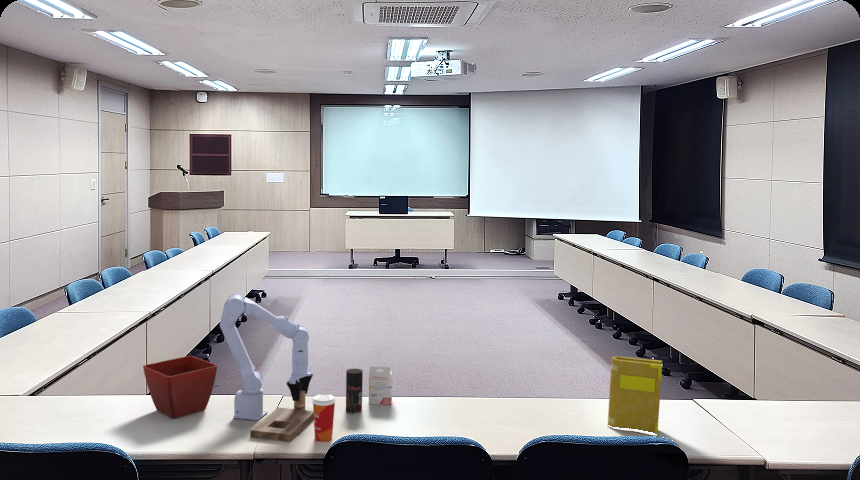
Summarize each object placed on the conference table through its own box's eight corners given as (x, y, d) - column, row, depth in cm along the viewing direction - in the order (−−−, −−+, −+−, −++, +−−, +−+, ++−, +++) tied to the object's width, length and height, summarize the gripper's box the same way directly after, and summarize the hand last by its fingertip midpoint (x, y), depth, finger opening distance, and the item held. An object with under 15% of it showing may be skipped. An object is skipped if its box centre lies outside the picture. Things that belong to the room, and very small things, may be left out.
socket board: (250, 437, 221) (250, 430, 221) (278, 414, 243) (278, 407, 242) (290, 441, 218) (290, 434, 218) (314, 418, 240) (314, 411, 240)
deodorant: (359, 414, 245) (359, 374, 243) (343, 412, 246) (344, 372, 245) (363, 408, 251) (364, 369, 249) (348, 406, 252) (349, 368, 250)
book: (657, 429, 238) (662, 360, 236) (657, 436, 232) (662, 365, 229) (608, 422, 244) (612, 355, 241) (606, 429, 237) (610, 359, 235)
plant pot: (142, 410, 243) (141, 364, 241) (191, 397, 257) (191, 354, 255) (168, 424, 230) (168, 376, 228) (218, 410, 244) (218, 365, 243)
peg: (292, 414, 243) (292, 393, 242) (296, 410, 247) (296, 389, 246) (302, 415, 242) (302, 394, 241) (307, 411, 246) (307, 390, 245)
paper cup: (312, 434, 225) (313, 393, 224) (335, 434, 226) (336, 393, 225) (310, 443, 218) (311, 401, 216) (334, 443, 218) (335, 401, 217)
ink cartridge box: (391, 400, 260) (392, 363, 259) (390, 405, 255) (391, 367, 254) (369, 399, 261) (370, 362, 259) (368, 404, 256) (368, 366, 254)
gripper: (302, 367, 234) (302, 404, 236) (317, 356, 248) (317, 391, 250) (283, 365, 236) (283, 403, 237) (299, 354, 250) (299, 390, 251)
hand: (299, 397), depth 244 cm, fingers open, 7 cm apart
